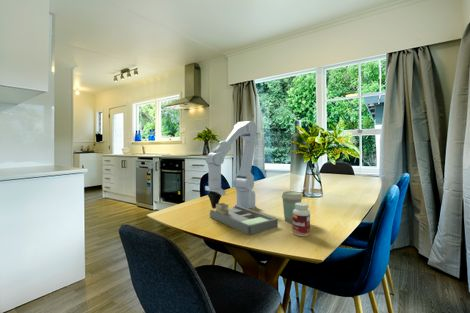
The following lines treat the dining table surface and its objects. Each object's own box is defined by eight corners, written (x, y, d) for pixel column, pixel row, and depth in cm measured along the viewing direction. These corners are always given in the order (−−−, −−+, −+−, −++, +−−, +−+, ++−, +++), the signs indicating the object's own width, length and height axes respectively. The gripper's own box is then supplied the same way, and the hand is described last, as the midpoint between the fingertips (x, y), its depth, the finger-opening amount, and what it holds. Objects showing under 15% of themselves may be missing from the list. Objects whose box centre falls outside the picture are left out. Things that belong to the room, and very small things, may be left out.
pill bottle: (289, 234, 89) (289, 204, 89) (296, 229, 94) (297, 201, 93) (305, 238, 85) (306, 206, 85) (312, 233, 90) (313, 203, 89)
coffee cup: (302, 218, 107) (303, 191, 107) (301, 225, 99) (301, 195, 99) (282, 217, 110) (283, 190, 109) (280, 222, 102) (280, 194, 101)
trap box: (236, 211, 118) (236, 205, 118) (277, 227, 97) (277, 219, 96) (210, 217, 110) (210, 210, 109) (249, 235, 88) (249, 226, 88)
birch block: (223, 211, 111) (223, 202, 111) (228, 213, 108) (228, 204, 108) (215, 213, 109) (215, 204, 109) (220, 215, 106) (220, 205, 105)
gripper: (199, 177, 116) (199, 206, 117) (215, 181, 104) (215, 213, 105) (212, 176, 120) (212, 204, 121) (229, 180, 109) (229, 210, 109)
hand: (214, 208), depth 113 cm, fingers closed
